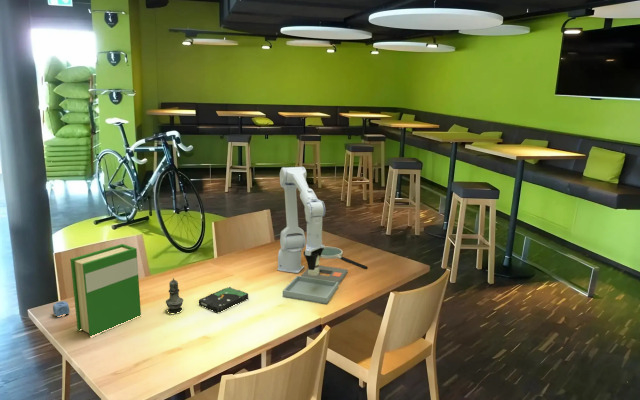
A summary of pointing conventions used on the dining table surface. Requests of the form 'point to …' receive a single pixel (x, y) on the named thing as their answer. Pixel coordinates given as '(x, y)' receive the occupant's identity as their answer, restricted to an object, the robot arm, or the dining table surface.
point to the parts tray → (310, 289)
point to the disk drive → (223, 299)
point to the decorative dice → (61, 308)
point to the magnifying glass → (338, 255)
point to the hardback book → (106, 288)
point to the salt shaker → (174, 298)
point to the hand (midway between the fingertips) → (313, 267)
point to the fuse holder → (335, 273)
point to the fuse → (316, 270)
